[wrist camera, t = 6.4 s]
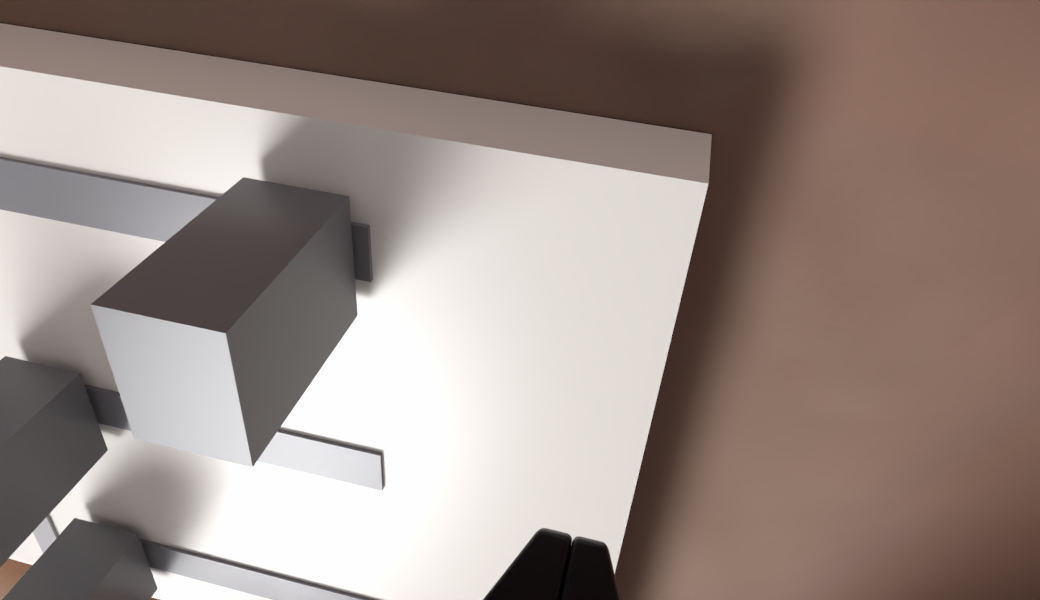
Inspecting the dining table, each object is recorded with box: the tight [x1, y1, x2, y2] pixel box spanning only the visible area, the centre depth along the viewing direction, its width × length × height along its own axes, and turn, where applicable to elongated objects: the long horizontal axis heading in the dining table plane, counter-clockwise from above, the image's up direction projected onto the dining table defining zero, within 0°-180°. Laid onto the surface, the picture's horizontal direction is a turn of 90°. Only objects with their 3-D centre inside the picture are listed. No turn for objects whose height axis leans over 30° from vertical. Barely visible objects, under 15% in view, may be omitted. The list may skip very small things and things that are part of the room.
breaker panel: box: [0, 23, 712, 600], centre depth 19 cm, size 23×17×2 cm
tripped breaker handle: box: [90, 177, 358, 467], centre depth 12 cm, size 2×3×4 cm
